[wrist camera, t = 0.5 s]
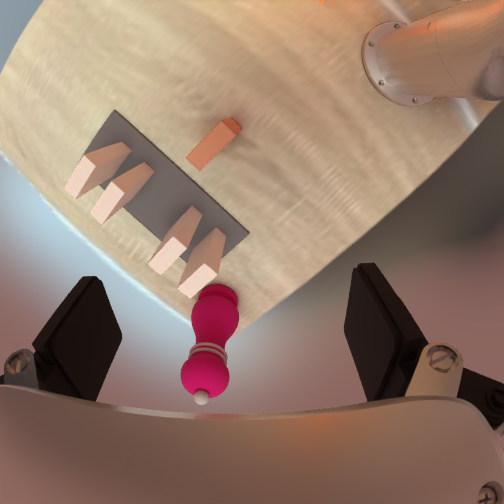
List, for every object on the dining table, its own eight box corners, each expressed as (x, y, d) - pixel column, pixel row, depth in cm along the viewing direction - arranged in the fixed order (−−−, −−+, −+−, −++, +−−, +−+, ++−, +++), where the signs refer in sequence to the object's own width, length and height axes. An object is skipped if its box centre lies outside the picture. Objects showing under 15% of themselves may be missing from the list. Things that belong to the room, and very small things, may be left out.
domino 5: (193, 248, 42) (177, 288, 33) (215, 226, 40) (204, 263, 31) (203, 257, 43) (190, 298, 34) (226, 236, 41) (217, 274, 32)
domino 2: (124, 187, 38) (89, 213, 29) (144, 161, 36) (111, 180, 27) (134, 196, 38) (102, 224, 29) (154, 171, 37) (124, 193, 28)
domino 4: (203, 145, 36) (185, 158, 27) (230, 117, 34) (221, 121, 25) (214, 155, 36) (200, 171, 27) (241, 128, 34) (236, 135, 26)
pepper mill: (247, 291, 46) (242, 398, 28) (230, 321, 49) (219, 423, 32) (205, 274, 45) (178, 378, 27) (190, 306, 48) (163, 406, 30)
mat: (115, 110, 33) (113, 110, 32) (249, 232, 41) (249, 234, 41) (79, 163, 36) (77, 164, 36) (203, 273, 45) (202, 275, 44)
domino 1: (103, 168, 36) (64, 188, 27) (121, 141, 34) (83, 154, 26) (112, 176, 37) (75, 199, 28) (131, 150, 35) (95, 166, 26)
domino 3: (169, 228, 41) (147, 264, 32) (192, 205, 39) (173, 236, 30) (180, 237, 41) (160, 275, 32) (202, 214, 39) (187, 248, 31)
